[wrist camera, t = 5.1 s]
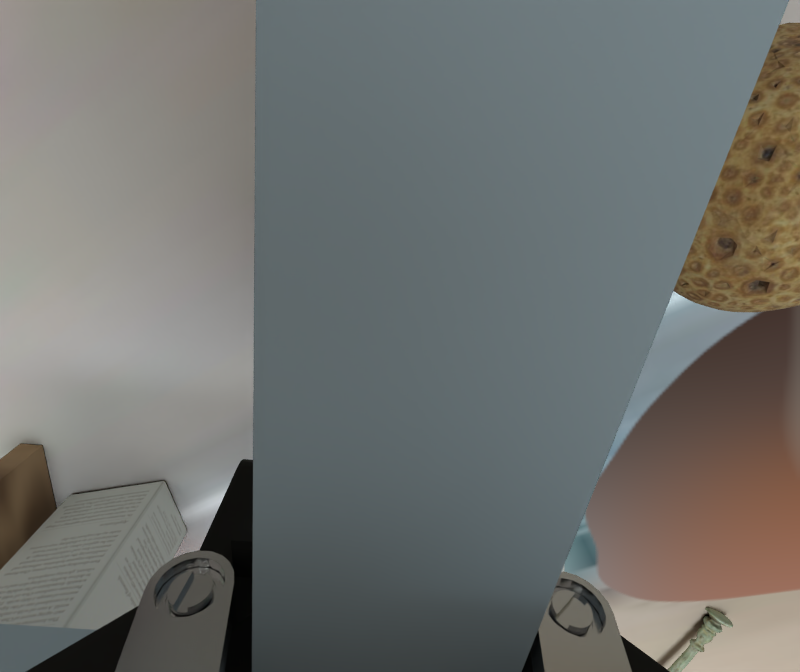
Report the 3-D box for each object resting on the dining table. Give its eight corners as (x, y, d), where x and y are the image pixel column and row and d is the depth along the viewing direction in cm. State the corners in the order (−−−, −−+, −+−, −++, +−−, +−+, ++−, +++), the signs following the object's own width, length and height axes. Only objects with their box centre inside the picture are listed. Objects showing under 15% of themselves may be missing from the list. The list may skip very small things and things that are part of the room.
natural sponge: (617, 36, 19) (839, -83, 9) (812, 82, 19) (1199, 15, 10) (549, 251, 22) (663, 322, 13) (718, 284, 23) (945, 374, 13)
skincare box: (99, 545, 28) (-90, 796, 17) (70, 492, 27) (-159, 729, 16) (192, 532, 28) (60, 778, 17) (168, 477, 27) (6, 709, 15)
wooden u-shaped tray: (20, 443, 26) (-63, 507, 21) (446, 477, 27) (458, 545, 22) (59, 607, 30) (-1, 689, 26) (419, 629, 32) (423, 711, 27)
